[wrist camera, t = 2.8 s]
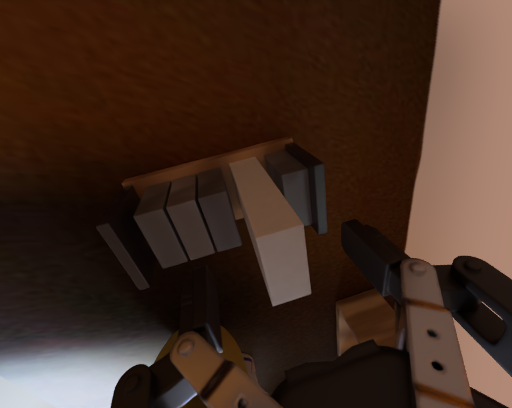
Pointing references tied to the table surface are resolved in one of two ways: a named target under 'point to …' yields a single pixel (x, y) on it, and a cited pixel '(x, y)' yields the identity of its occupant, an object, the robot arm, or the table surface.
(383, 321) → the birch stand
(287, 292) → the white book
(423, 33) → the table surface
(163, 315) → the table surface
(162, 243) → the grey rack
